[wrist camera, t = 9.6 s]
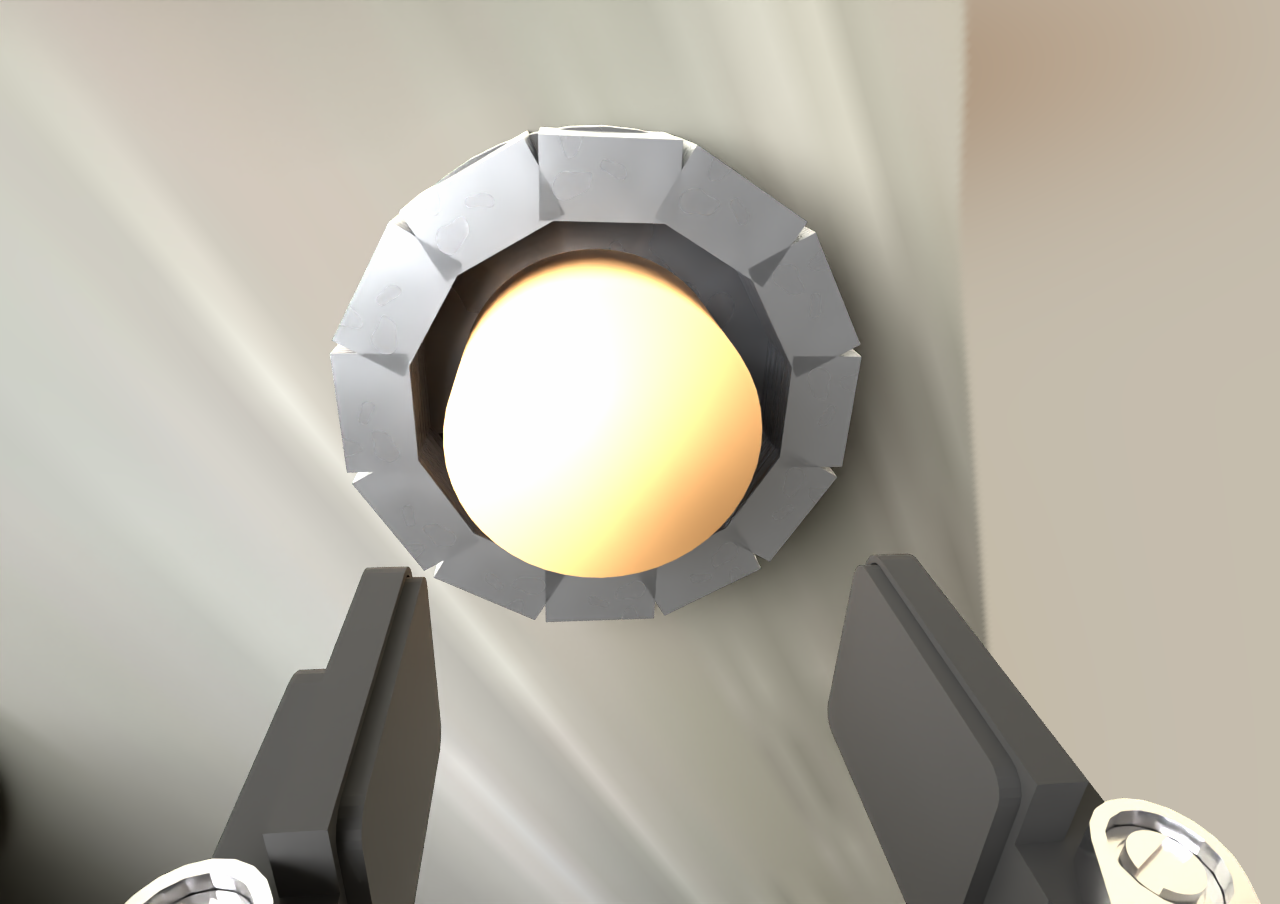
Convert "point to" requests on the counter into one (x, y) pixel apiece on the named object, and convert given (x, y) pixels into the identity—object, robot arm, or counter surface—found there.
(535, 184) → the faceted metal bowl
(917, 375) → the counter surface
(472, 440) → the pale yellow rounded lump
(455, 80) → the counter surface
